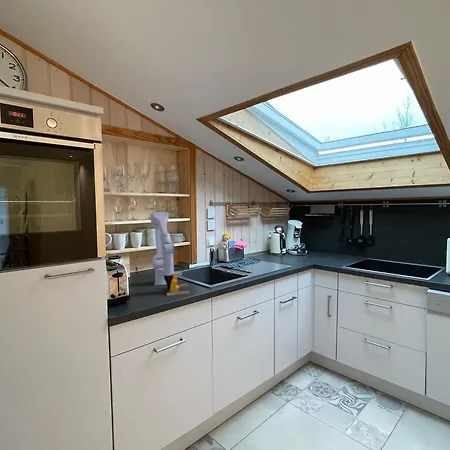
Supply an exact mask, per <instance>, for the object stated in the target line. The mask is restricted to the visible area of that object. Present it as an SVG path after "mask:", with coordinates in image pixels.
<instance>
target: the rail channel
mask: <svg viewBox="0 0 450 450" xmlns="http://www.w3.org/2000/svg"><path fill="white" fill-rule="evenodd" d="M170 286H171V285H170ZM176 286H179V288H189V284H187V283H185V284H176ZM183 295H184V296H185V295H190V291H178V292H166V296H183Z"/></svg>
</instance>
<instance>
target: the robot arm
mask: <svg viewBox="0 0 450 450" xmlns="http://www.w3.org/2000/svg"><path fill="white" fill-rule="evenodd" d="M168 222H169V213H168V212H167V211H162V212H160V211H159V212H158V211H157V212H155V211H154V212H152V211H151V213H150V225H151V227H153V228H154V234H155V235H154V237H155V247H156V249H155V250H156V253H155V254H154V255H153V256H152V259H151V260H152V261H151V265H152V266H151V267H152V269H153V270H154V274H155V275H154V278H155V279H154V280H155V282H154V286H163V285H164V286H165V285H166V286H167V290H170V285H171V282H172V279H173V276H180V277H181V276H182V274H183V273H182V271H174V270H175V268H174V267H175V266H174V253H175V245H174V243H173V241H172V238H171V234H170V233H169V232H168V229H167V228H168V227H167V225H168Z"/></svg>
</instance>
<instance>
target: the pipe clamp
mask: <svg viewBox="0 0 450 450" xmlns="http://www.w3.org/2000/svg"><path fill="white" fill-rule="evenodd" d="M176 285H178V276H173V279H172V282H171V286H170V289H169V293H172V292H179V289H180V287H179V286H176Z"/></svg>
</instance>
